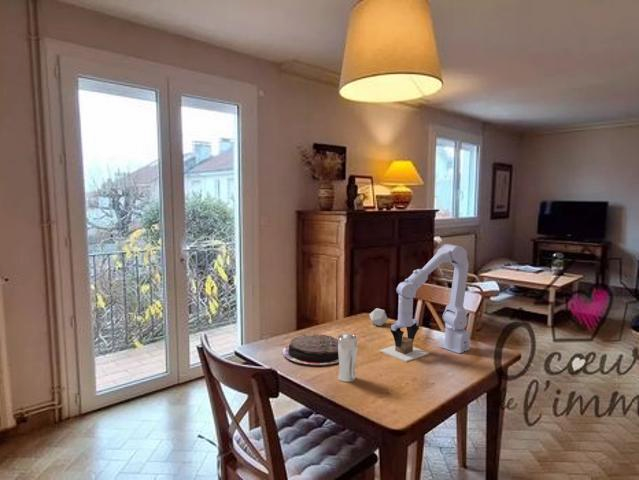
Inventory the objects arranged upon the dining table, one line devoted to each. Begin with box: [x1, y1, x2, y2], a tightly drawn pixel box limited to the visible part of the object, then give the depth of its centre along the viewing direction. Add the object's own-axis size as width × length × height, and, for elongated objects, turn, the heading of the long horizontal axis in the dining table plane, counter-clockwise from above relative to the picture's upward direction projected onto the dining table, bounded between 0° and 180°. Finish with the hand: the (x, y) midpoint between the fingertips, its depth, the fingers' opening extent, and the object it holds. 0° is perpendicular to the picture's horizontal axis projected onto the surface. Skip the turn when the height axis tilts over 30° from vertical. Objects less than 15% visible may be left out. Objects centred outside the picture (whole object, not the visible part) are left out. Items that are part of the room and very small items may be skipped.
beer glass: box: [337, 333, 358, 383], centre depth 146 cm, size 7×7×15 cm
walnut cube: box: [394, 336, 414, 354], centre depth 172 cm, size 5×5×5 cm
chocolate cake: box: [282, 333, 339, 368], centre depth 170 cm, size 28×28×7 cm
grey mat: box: [379, 344, 430, 363], centre depth 172 cm, size 14×14×1 cm
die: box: [369, 307, 389, 327], centre depth 209 cm, size 8×9×10 cm
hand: (404, 344), depth 171 cm, fingers open, 7 cm apart
